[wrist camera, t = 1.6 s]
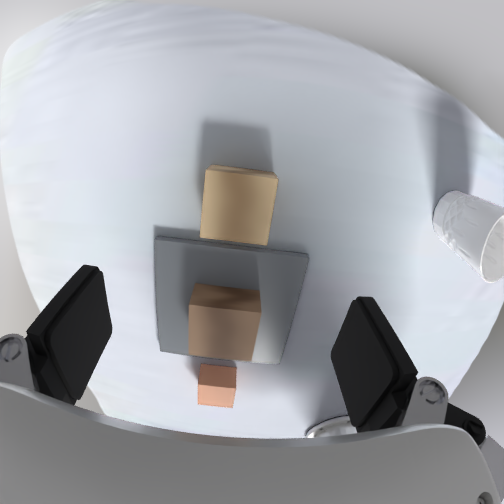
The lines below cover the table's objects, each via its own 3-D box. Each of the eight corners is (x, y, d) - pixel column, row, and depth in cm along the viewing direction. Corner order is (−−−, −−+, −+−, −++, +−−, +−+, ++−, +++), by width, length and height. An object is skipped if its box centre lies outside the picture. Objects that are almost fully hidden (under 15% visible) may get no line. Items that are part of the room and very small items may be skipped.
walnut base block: (259, 290, 30) (261, 312, 26) (250, 337, 33) (251, 361, 29) (195, 282, 29) (188, 304, 26) (193, 331, 32) (188, 354, 29)
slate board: (307, 253, 29) (309, 258, 28) (278, 359, 36) (279, 364, 35) (157, 236, 28) (154, 239, 27) (161, 346, 35) (160, 351, 34)
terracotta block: (236, 366, 37) (236, 388, 33) (233, 387, 39) (232, 407, 35) (201, 362, 36) (197, 384, 33) (200, 383, 38) (197, 404, 35)
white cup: (447, 173, 26) (505, 196, 16) (477, 204, 27) (529, 232, 18) (418, 229, 28) (469, 268, 19) (452, 253, 30) (497, 291, 21)
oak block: (273, 172, 26) (278, 179, 22) (264, 229, 28) (267, 245, 25) (211, 164, 25) (205, 169, 22) (205, 222, 28) (199, 237, 24)
